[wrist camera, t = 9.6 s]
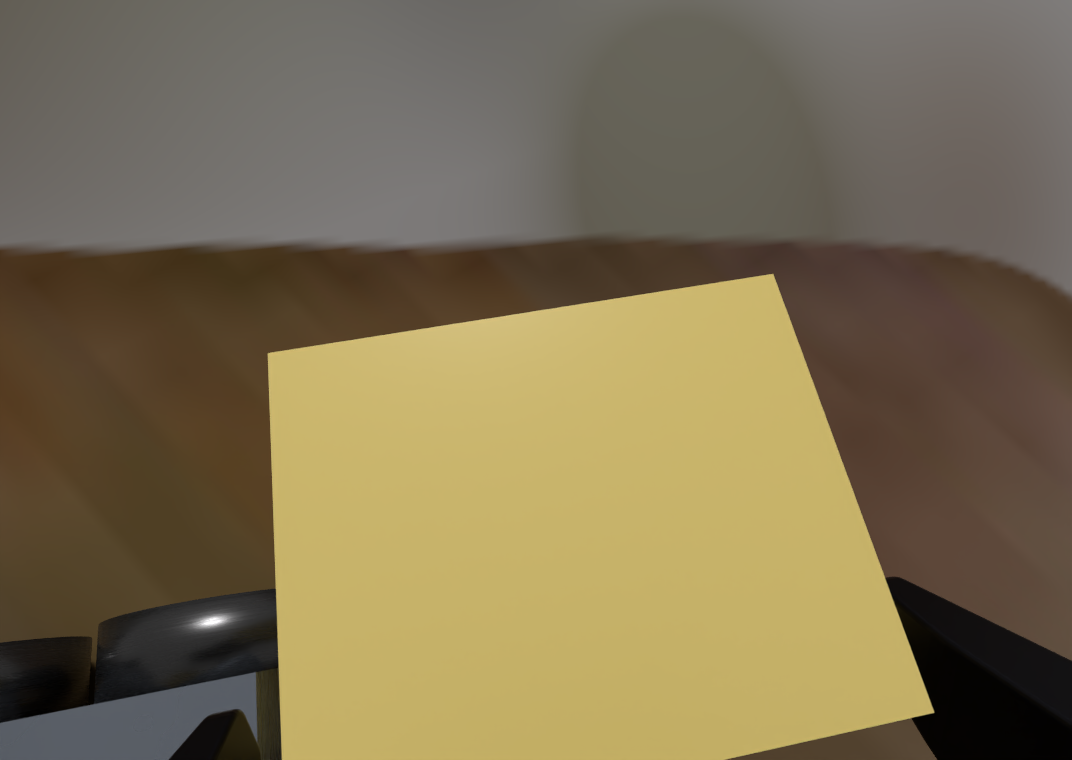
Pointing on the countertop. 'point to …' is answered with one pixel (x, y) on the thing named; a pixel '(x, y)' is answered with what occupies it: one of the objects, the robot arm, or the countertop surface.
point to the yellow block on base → (574, 541)
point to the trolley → (144, 682)
